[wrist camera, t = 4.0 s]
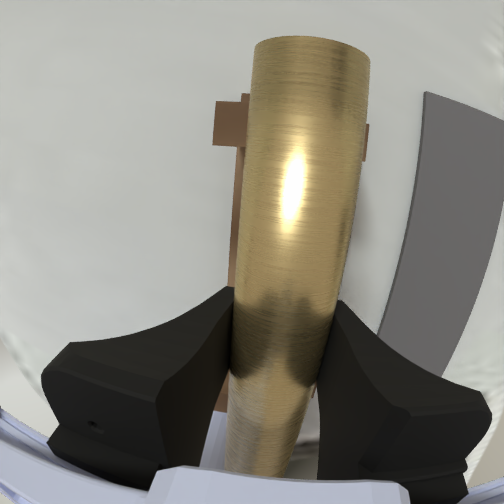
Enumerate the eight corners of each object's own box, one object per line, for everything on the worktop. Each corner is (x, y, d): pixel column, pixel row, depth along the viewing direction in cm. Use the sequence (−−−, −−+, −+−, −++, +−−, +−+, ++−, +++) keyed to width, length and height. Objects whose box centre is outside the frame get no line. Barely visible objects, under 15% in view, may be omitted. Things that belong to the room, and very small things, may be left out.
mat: (432, 387, 20) (433, 391, 20) (356, 387, 21) (357, 391, 21) (509, 124, 13) (512, 124, 13) (423, 92, 14) (426, 91, 13)
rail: (286, 450, 14) (281, 496, 11) (230, 442, 14) (218, 486, 11) (358, 76, 8) (383, 49, 5) (262, 64, 8) (245, 32, 5)
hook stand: (314, 365, 21) (317, 436, 15) (226, 353, 21) (204, 421, 15) (360, 110, 15) (398, 91, 9) (244, 96, 15) (216, 69, 9)
